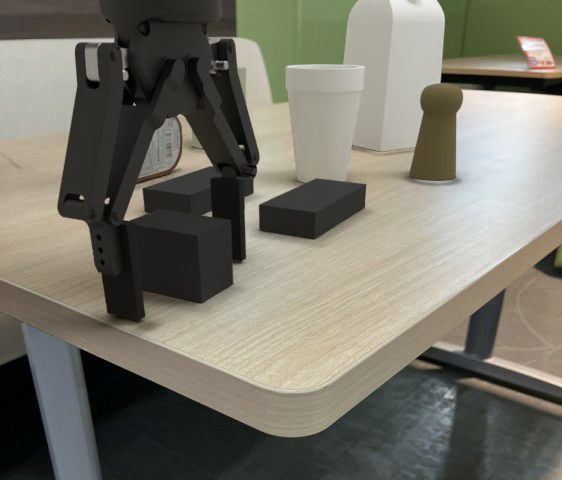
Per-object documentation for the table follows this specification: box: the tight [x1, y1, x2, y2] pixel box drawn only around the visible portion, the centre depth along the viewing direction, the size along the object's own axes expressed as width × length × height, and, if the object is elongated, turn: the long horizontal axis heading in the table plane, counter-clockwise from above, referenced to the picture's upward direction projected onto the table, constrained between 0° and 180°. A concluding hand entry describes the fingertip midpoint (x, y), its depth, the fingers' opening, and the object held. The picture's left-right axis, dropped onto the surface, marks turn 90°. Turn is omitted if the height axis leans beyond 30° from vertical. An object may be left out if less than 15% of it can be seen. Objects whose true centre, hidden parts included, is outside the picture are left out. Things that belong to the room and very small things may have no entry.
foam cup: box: [285, 63, 365, 184], centre depth 77 cm, size 10×9×13 cm
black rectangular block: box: [129, 209, 234, 304], centre depth 47 cm, size 6×4×5 cm
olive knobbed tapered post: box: [409, 82, 464, 181], centre depth 80 cm, size 6×6×11 cm
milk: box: [342, 0, 446, 153], centre depth 98 cm, size 12×12×26 cm
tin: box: [137, 116, 184, 183], centre depth 78 cm, size 15×3×8 cm, turn 150°
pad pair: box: [141, 165, 367, 240], centre depth 67 cm, size 20×13×2 cm, turn 62°
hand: (183, 283), depth 48 cm, fingers open, 13 cm apart
